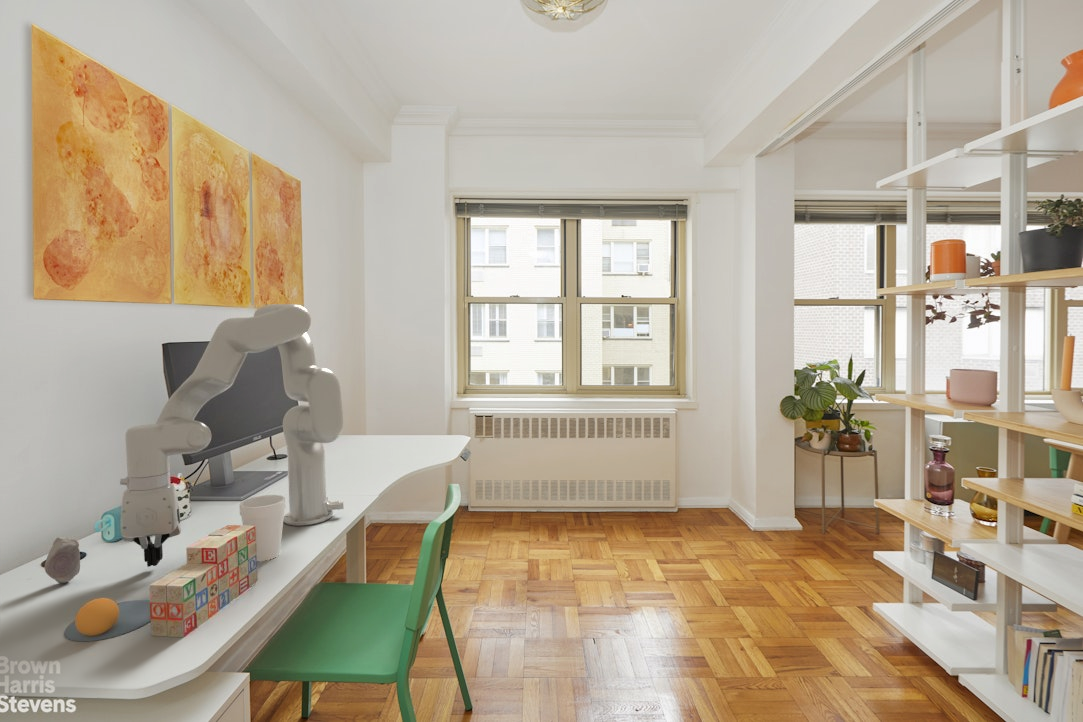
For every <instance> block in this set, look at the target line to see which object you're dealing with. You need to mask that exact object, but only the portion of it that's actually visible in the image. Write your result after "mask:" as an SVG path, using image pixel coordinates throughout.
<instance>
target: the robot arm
mask: <svg viewBox="0 0 1083 722" xmlns="http://www.w3.org/2000/svg"><path fill="white" fill-rule="evenodd" d="M311 325H312V318H311V314H310V312H309V311H308V309H306V308H305V307H304V306H302V305H300V304H296V303H277V304H276V303H274V304H273V303H272V304H267V305H266V304H265V305H262V306H260V307H258V308H257V309H256V310H255V311H254V313H253V316H251V317H232V318H227V319H224V320H223V321H222V322H221V323H219V324H218V325H217V327H216V328H215V330H214V332H213V334H212V336H211V338H210V341H209V342H208V344H207V346H206V348H205V350H204V352H203V354H202V356H201V358H200V359H199V361H198V363H197V365H196V368H195V369H194V371H193V372H192V373H191V375H189V376H188V378H186V379H185V380H184V382H182V384H181V385H180V386H179V387H178V388H177V389H176V390H174V392H173V393H172V395H171V396H170V397H169V398H168V400H167V401H166V403H165V405H164V407H163V408H162V411H161V413H160V414H159V417H158V418H157V420H156V422H155V424H153V423H151V424H150V423H149V424H148V423H147V424H140V425H135V426H132V427H129V428H128V429H127V430H126V432H125V451H126V454H125V455H126V470H127V472H126V473H127V476H126V477H125V478H120V480H119V484H120V486H126V490H124V491H123V494H122V499H121V505H120V506H121V509H120V535H121V536H122V541H123V542H130V543H131V542H134V543H136V544H137V545H139V546H140V548H141V549H143V556H144V557H143V558H144V559H143V560H144V562H146V565H147V566H146V567H152V566H153V567H154V566H155V567H156V566H158V564H159V563H160V562H161V561H162V559H163V557H164V556H163V554H164V553H163V544H164V543H165V542H166V540H168V539H169V538H173V537H177V536H178V535H180V534H181V532H182V528H181V525H180V524H181V512H180V504H179V499H178V495H177V494H178V493H177V492H176V491H177V489H176V487H175V485H174V484H173V483H171V469H170V467H171V466H170V456H172V455H173V456H174V455H190V454H196V453H199V452H201V451H203V450H205V449H206V448H208V446H209V444H210V443H211V440H212V432H211V429H210V427H209V426H207V425H206V424H205V423H204V422H201V421H199V420H195V418H196V417H197V415H198V413H199V412H200V410H201V409H202V408H203V406H204V405H206V404H207V403H208V402H209V401H210V400H211V399H213V398H214V397H216V396H218V395H220V394H222V393H224V392H225V391H227V390H228V389H230V388H232V386H233V385H234V383H235V380H236V379H237V376H238V374H239V372H240V370H241V368H242V366H243V364H244V362H245V360H246V358H247V356H248V353H249V354H251V353H252V354H257V353H261V352H265V351H268V350H271V349H274V348H276V347H277V349H278V352H279V354H280V355H279V356H280V360H281V370H282V378H283V387H284V392H285V394H286V396H287V397H288V398H289V399H291V400H292V401H293V400H294V401H297V402H304V403H305V402H306V403H308V404H300V405H295V406H293V407H291V408H290V409H288V411H286V413H285V414H284V416H283V419H282V431H283V436H284V441H285V443H286V444H285V446H286V452H287V473H288V474H287V475H288V476H287V477H288V499H289V500H288V501H289V503H288V504H289V511H288V512H287V513H286V514H284V518H283V523H285V524H286V525H290V526H298V527H299V526H308V525H309V526H311V525H315V524H319V523H323V522H325V521H327V520H329V519H331V518H332V517H333V515H334V514H333V511H334V510H339V511H340V510H344V501H343V502H340V501H339V500H337V501H331V500H330V501H329V498H328V497H327V483H326V482H327V481H326V479H327V478H326V452H325V447H324V444H330V443H332V442H335V441H336V440H337V439H338V438H339V437H340V435H341V433H342V431H343V428H344V414H343V402H342V392H341V390H342V389H341V385H340V381H339V379H338V377H337V375H336V374H335V373H334V372H333V371H332V370H330V369H329V368H326V367H321V366H317V361H316V354H315V347H314V345H313V341H312V339H311V337H310V335H309V334H308V330H309V329H310V327H311ZM152 536H154V542H153V540H152Z"/></svg>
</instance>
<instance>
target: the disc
mask: <svg viewBox="0 0 1083 722" xmlns="http://www.w3.org/2000/svg"><path fill="white" fill-rule="evenodd" d="M115 603H116V604H117V605H118V608H119V617H118V619H117V621H116V623H115V624H114V625H113V627H112V628H110V629H109V630H108V631H106V632H104V633H102V634H100V635H95V636H88V635H84V634H82V633H80V632H79V631H78V629H77V628H76V624H75V620H73V621H72V622H71V623H70V624H69V625H68V626H67V627H66V628H65V631H64V635H65V637H66V639H68V640H71V641H73V642H74V641H75V642H83V643H84V642H95V641H101V640H107V639H111V638H115V637H118V636H122V635H125V634H127V633H130V632H133V631H135V630H137V629H140V628H142V627H143V626H146V625H147V624H149V623H151V618H150V599H136V600H135V599H134V600H126V601H122V602H118V603H117V602H115Z"/></svg>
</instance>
